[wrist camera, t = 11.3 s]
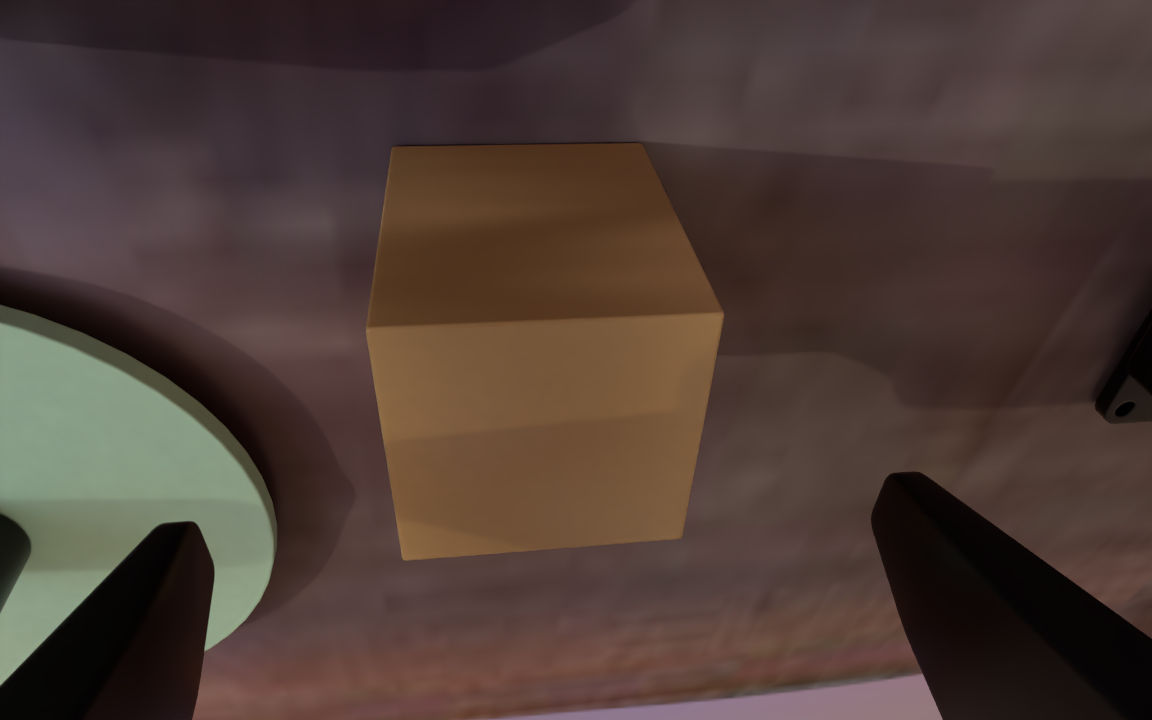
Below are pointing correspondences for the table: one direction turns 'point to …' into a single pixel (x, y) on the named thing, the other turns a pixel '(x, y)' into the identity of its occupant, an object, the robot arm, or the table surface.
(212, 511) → the lid
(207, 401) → the table surface
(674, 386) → the block
